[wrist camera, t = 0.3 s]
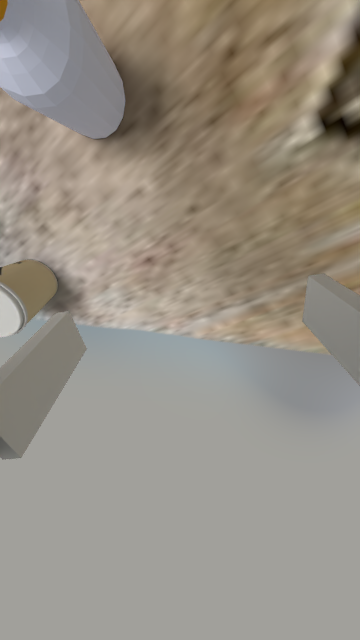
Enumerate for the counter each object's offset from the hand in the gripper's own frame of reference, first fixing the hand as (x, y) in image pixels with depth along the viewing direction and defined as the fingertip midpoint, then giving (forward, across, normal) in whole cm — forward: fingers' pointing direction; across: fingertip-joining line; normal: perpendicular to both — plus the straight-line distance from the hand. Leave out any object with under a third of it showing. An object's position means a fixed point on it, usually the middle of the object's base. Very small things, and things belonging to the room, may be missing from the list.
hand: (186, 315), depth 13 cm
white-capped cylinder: (+28, -28, -4) cm, 40 cm away
